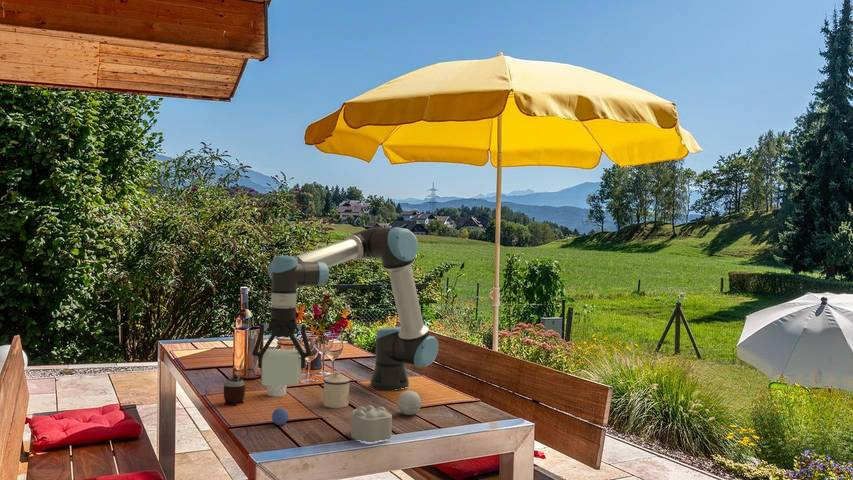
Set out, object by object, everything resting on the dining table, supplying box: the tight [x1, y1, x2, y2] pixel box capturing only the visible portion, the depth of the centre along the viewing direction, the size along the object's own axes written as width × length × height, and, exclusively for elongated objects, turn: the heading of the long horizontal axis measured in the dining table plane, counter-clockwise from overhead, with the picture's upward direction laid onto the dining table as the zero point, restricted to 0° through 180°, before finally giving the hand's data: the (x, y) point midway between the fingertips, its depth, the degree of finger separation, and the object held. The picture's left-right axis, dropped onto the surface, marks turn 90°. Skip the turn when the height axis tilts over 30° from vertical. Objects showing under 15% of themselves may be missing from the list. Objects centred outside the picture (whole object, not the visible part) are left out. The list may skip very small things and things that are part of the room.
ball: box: [271, 407, 289, 426], centre depth 204 cm, size 5×5×5 cm
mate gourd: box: [223, 356, 246, 407], centre depth 227 cm, size 8×8×15 cm
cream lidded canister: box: [323, 370, 351, 409], centre depth 230 cm, size 12×9×12 cm
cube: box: [261, 348, 301, 386], centre depth 202 cm, size 10×10×9 cm
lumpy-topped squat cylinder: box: [350, 404, 393, 442], centre depth 196 cm, size 10×13×9 cm
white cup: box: [266, 385, 288, 397], centre depth 240 cm, size 8×8×10 cm
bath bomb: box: [397, 390, 422, 416], centre depth 220 cm, size 8×8×8 cm
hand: (281, 378), depth 202 cm, fingers closed on cube, 10 cm apart
